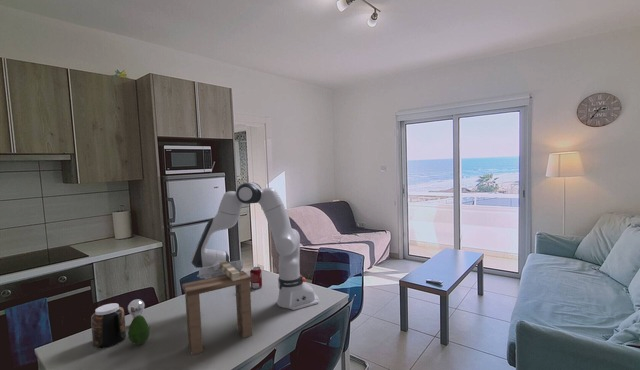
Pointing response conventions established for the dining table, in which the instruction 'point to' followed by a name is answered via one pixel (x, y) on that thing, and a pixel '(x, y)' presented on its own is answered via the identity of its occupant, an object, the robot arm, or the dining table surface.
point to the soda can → (256, 277)
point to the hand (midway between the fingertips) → (224, 264)
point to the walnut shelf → (213, 284)
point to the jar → (108, 326)
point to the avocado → (138, 330)
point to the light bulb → (136, 308)
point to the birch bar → (230, 271)
